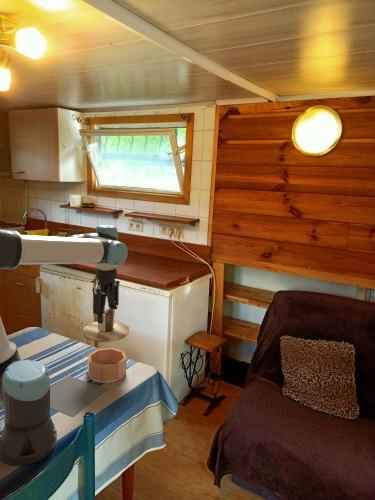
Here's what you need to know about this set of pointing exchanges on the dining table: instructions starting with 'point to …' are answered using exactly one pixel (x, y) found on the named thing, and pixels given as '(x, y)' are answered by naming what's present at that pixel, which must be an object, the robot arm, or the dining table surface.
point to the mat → (73, 395)
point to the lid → (106, 330)
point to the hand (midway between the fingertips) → (106, 327)
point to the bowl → (106, 365)
